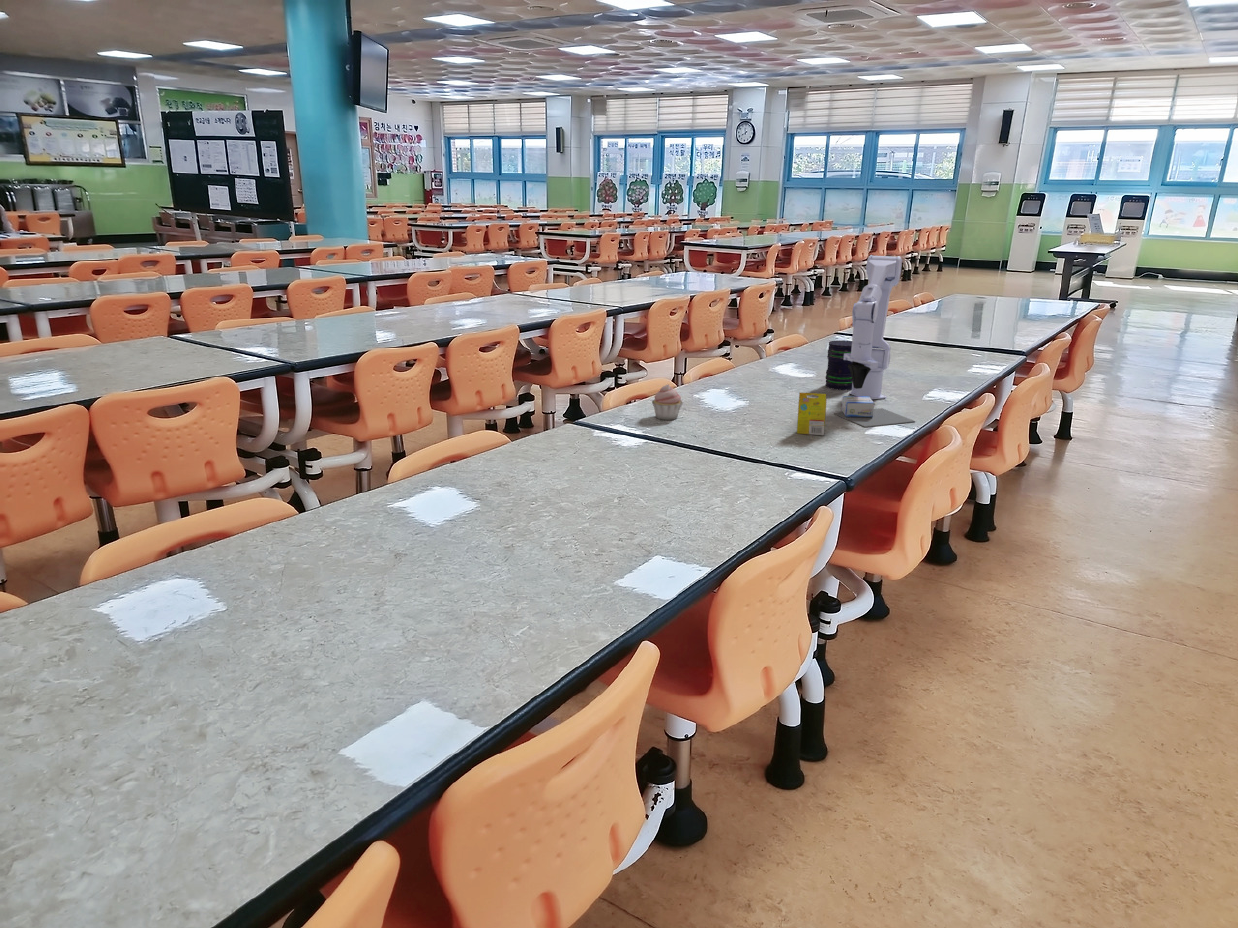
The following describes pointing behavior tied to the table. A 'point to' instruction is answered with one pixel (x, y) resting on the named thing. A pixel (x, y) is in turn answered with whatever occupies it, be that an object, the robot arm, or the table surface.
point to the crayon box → (811, 414)
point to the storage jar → (838, 366)
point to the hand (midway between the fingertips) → (857, 388)
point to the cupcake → (667, 403)
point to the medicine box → (857, 406)
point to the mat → (877, 418)
